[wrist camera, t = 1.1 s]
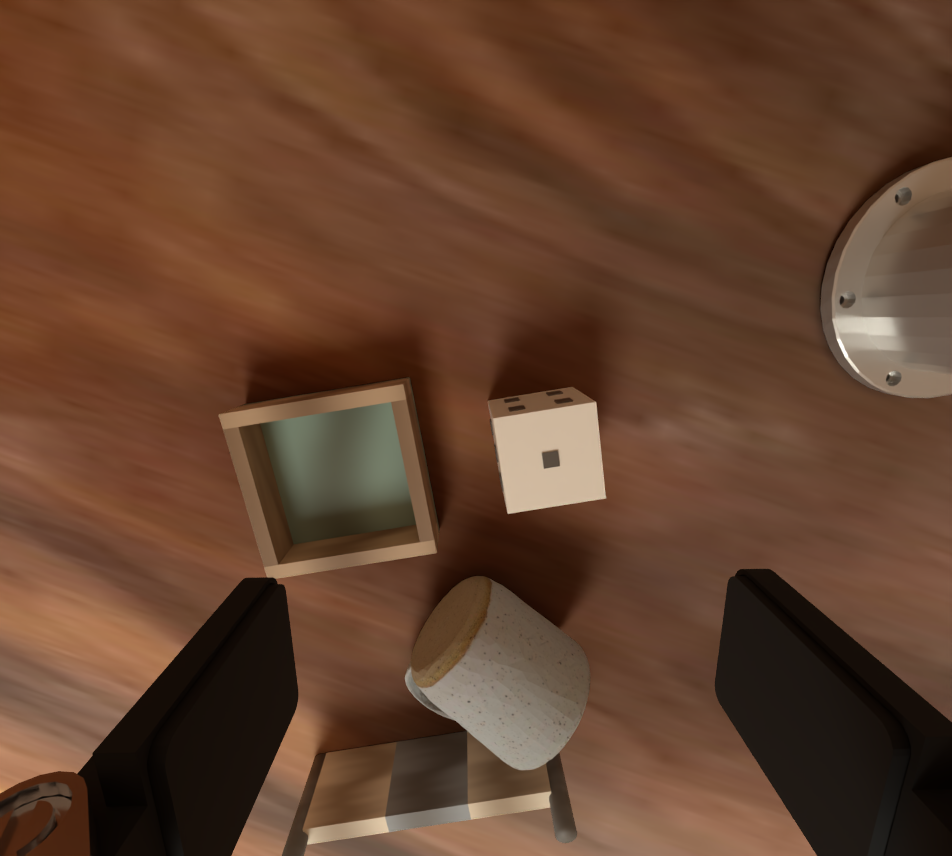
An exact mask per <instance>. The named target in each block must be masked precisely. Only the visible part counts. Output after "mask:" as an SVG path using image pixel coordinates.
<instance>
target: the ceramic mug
mask: <svg viewBox="0 0 952 856" xmlns="http://www.w3.org/2000/svg"><path fill="white" fill-rule="evenodd" d="M405 682H406V685H407V687H408V689H409V691H410V692H411V693H412V695H413V696H414V697H415V698H416V699H417V700H418V701H419V702H420V703H422V704H423V705H424V706H425V707H427V708H428V709H430V710H432V711H433V712H435V713H437V714H439V715H441V716H443V717H446V718H449V719H452V720H455V721H456V722H458V723H459V724H460V725H461V726H462V727H464V728H465V729H466V730H467V731H468V732H469V733H470V734H471V735H472V736H474V737H475V738H476V739H477V740H478V741H480V742H481V743H482V744H483V745H484V746H486V747H487V748H488V749H489V750H490V751H492V752H493V753H494V754H495V755H496V756H497V757H499V758H500V759H501V760H502V761H503V762H505V763H506V764H508V765H509V766H511V767H513V768H515V769H518V770H532V769H535V768H538V767H540V766H542V765H544V764H546V763H547V762H548V761H549V760H551V759H552V758H553V757H555V756H556V755H557V754H558V753H559V752H560V750H561V749H562V748H563V747H564V746H565V745H566V743H567V742H568V740H569V739H570V737H571V736H572V734H573V733H574V731H575V730H576V728H577V726H578V724H579V722H580V720H581V718H582V715H583V713H584V709H585V706H586V702H587V698H588V694H589V689H590V669H589V663H588V659H587V657H586V654H585V653H584V651H583V649H582V647H581V646H580V645H579V644H578V643H577V642H576V641H574V640H573V639H572V638H570V637H569V636H568V635H566V634H565V633H564V632H562V631H561V630H560V629H559V628H557V627H556V626H555V625H554V624H552V623H551V622H550V621H548V620H547V619H546V618H544V617H543V616H542V615H540V614H539V613H538V612H536V611H535V610H534V609H532V608H531V607H530V606H528V605H527V604H526V603H524V602H523V601H522V600H521V599H520V598H518V597H517V596H516V595H515V594H514V593H512V592H511V591H510V590H508V589H507V588H505V587H504V586H503V585H501V584H499V583H497V582H495V581H493V580H492V579H490V578H487V577H485V576H473V577H470V578H467V579H465V580H463V581H461V582H460V583H459V584H457V585H456V586H455V587H454V588H452V589H451V590H450V591H449V593H448V594H447V595H446V596H445V597H444V598H443V599H442V600H441V601H440V603H439V604H438V605H437V606H436V608H435V609H434V610H433V612H432V613H431V615H430V616H429V618H428V620H427V621H426V623H425V625H424V626H423V628H422V630H421V632H420V634H419V636H418V638H417V641H416V643H415V646H414V648H413V652H412V656H411V661H410V663H409V666H408V668H407V671H406V674H405Z"/></svg>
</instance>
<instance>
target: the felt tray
mask: <svg viewBox="0 0 952 856" xmlns="http://www.w3.org/2000/svg"><path fill="white" fill-rule="evenodd" d="M219 418H220V421H221V424H222V428H223V431H224V434H225V438H226V441H227V445H228V448H229V451H230V455H231V458H232V461H233V465H234V468H235V471H236V475H237V478H238V481H239V485H240V488H241V491H242V495H243V498H244V501H245V505H246V508H247V512H248V515H249V518H250V522H251V525H252V528H253V532H254V535H255V538H256V542H257V545H258V548H259V552H260V555H261V558H262V562H263V565H264V568H265V572H266V575H267V577H273V578H275V579H277V578H283V577H290V576H296V575H302V574H308V573H315V572H321V571H327V570H333V569H340V568H346V567H352V566H358V565H365V564H371V563H377V562H383V561H390V560H396V559H402V558H409V557H415V556H421V555H427V554H434V553H437V547H438V538H439V524H438V519H437V514H436V509H435V504H434V498H433V493H432V488H431V483H430V478H429V473H428V468H427V462H426V457H425V452H424V447H423V442H422V437H421V432H420V427H419V421H418V416H417V411H416V406H415V401H414V396H413V391H412V385H411V380H410V377H406V378H400V379H394V380H388V381H382V382H376V383H370V384H363V385H357V386H351V387H345V388H339V389H333V390H327V391H321V392H315V393H309V394H302V395H296V396H290V397H284V398H278V399H272V400H266V401H260V402H254V403H248V404H244V405H241V406H239V407H236V408H234V409H231V410H229V411H226V412H224V413H221V414H219Z"/></svg>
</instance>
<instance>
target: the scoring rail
mask: <svg viewBox="0 0 952 856" xmlns="http://www.w3.org/2000/svg"><path fill="white" fill-rule="evenodd" d="M543 808H551V814H552V819H553V825H554V831H555V836H556V839H557V840H558V841H559V842H562V843H569V842H572V841H573V840H574V839H575V838H576V836H577V831H576V827H575V822H574V818H573V813H572V808H571V804H570V799H569V795H568V790H567V786H566V781H565V777H564V772H563V768H562V763H561V759H560V754H559V753H558V754H557V755H556V756H555V757H553V758H552V759H551V760H549V761H548V762H547V763H546V764H544V765H542V766H540V767H538V768H535V769H532V770H518V769H515V768H513V767H511V766H509V765H508V764H506V763H505V762H503V761H502V760H501V759H500V758H499V757H497V756H496V755H495V754H494V753H493V752H492V751H490V750H489V749H488V748H487V747H486V746H484V745H483V744H482V743H481V742H480V741H478V740H477V739H476V738H475V737H474V736H472V735H471V734H470V733H469V732H468V731H464V732H457V733H451V734H444V735H438V736H431V737H425V738H419V739H412V740H406V741H399V742H393V743H386V744H380V745H373V746H367V747H361V748H354V749H348V750H341V751H335V752H328V753H326V754H318V755H317V756H316V757H315V759H314V762H313V765H312V768H311V771H310V774H309V777H308V779H307V782H306V785H305V788H304V791H303V794H302V797H301V800H300V803H299V806H298V809H297V812H296V815H295V818H294V821H293V824H292V827H291V830H290V833H289V836H288V839H287V842H286V845H285V848H284V851H283V854H282V856H304V853H305V849H306V846H307V845H308V844H314V843H321V842H327V841H334V840H341V839H347V838H354V837H360V836H367V835H373V834H380V833H386V832H393V831H399V830H406V829H412V828H419V827H426V826H432V825H439V824H445V823H452V822H458V821H465V820H471V819H478V818H484V817H491V816H497V815H504V814H510V813H517V812H524V811H530V810H537V809H543Z"/></svg>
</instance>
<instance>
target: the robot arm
mask: <svg viewBox="0 0 952 856" xmlns="http://www.w3.org/2000/svg"><path fill="white" fill-rule="evenodd" d="M820 309H821V317H822V325H823V330H824V333H825V336H826V339H827V342H828V345H829V348H830V350H831V351H832V353H833V354H834V356H835V358H836V359H837V361H838V363H839V364H840V365H841V366H842V367H843V368H844V369H845V370H846V371H847V372H848V373H849V374H850V375H851V376H852V377H853V378H854V379H856V380H857V381H859V382H860V383H862V384H864V385H865V386H867V387H868V388H871V389H874V390H877V391H880V392H883V393H886V394H891V395H897V396H902V397H907V398H932V397H939V396H945V395H950V394H952V157H950V158H946V159H943V160H939V161H935V162H932V163H929V164H927V165H924V166H921V167H919V168H916V169H913V170H911V171H908V172H906V173H904V174H903V175H901V176H899V177H898V178H896V179H894V180H892V181H891V182H889V183H887V184H886V185H885V186H883V187H882V188H881V189H880V190H879V191H877V192H876V193H875V194H874V195H873V196H871V197H870V198H869V199H868V200H867V201H866V202H865V203H864V204H863V205H862V206H861V208H860V209H859V210H858V211H857V212H856V213H855V215H854V216H853V217H852V218H851V219H850V221H849V222H848V224H847V225H846V227H845V229H844V230H843V232H842V233H841V235H840V237H839V238H838V240H837V241H836V244H835V246H834V249H833V251H832V253H831V256H830V258H829V260H828V263H827V266H826V270H825V275H824V279H823V283H822V290H821V307H820ZM715 691H716V695H717V698H718V701H719V703H720V705H721V706H722V708H723V709H724V711H725V712H726V714H727V716H728V717H729V719H730V720H731V722H732V723H733V725H734V726H735V728H736V730H737V731H738V733H739V734H740V736H741V737H742V739H743V741H744V742H745V744H746V745H747V747H748V748H749V750H750V751H751V753H752V755H753V756H754V758H755V759H756V761H757V762H758V764H759V765H760V767H761V769H762V770H763V772H764V773H765V775H766V776H767V778H768V780H769V781H770V783H771V784H772V786H773V787H774V789H775V790H776V792H777V794H778V795H779V797H780V798H781V800H782V801H783V803H784V805H785V806H786V808H787V809H788V811H789V812H790V814H791V815H792V817H793V819H794V820H795V822H796V823H797V825H798V826H799V828H800V829H801V831H802V833H803V834H804V836H805V837H806V839H807V840H808V842H809V844H810V845H811V847H812V848H813V850H814V851H815V853H816V854H817V856H952V722H951V721H949V720H948V719H947V718H946V717H945V716H944V715H942V714H941V713H940V712H939V711H938V710H936V709H935V708H934V707H933V706H932V705H931V704H929V703H928V702H927V701H926V700H925V699H923V698H922V697H921V696H920V695H919V694H918V693H916V692H915V691H914V690H913V689H912V688H910V687H909V686H908V685H907V684H906V683H905V682H903V681H902V680H901V679H900V678H899V677H897V676H896V675H895V674H894V673H893V672H892V671H890V670H889V669H888V668H887V667H886V666H885V665H883V664H882V663H881V662H880V661H879V660H877V659H876V658H875V657H874V656H873V655H872V654H870V653H869V652H868V651H867V650H866V649H864V648H863V647H862V646H861V645H860V644H859V643H857V642H856V641H855V640H854V639H853V638H851V637H850V636H849V635H848V634H847V633H846V632H844V631H843V630H842V629H841V628H840V627H838V626H837V625H836V624H835V623H834V622H833V621H831V620H830V619H829V618H828V617H827V616H826V615H824V614H823V613H822V612H821V611H820V610H818V609H817V608H816V607H815V606H814V605H813V604H811V603H810V602H809V601H808V600H807V599H805V598H804V597H803V596H802V595H801V594H800V593H798V592H797V591H796V590H795V589H794V588H792V587H791V586H790V585H789V584H788V583H787V582H785V581H784V580H783V579H782V578H781V577H779V576H778V575H777V574H776V573H775V572H773V571H772V570H770V569H740V570H739V571H737V573H736V575H735V576H734V577H731V578H730V579H729V581H728V586H727V593H726V601H725V609H724V616H723V624H722V632H721V639H720V647H719V655H718V662H717V670H716V678H715ZM297 702H298V685H297V677H296V669H295V661H294V653H293V645H292V637H291V629H290V621H289V613H288V605H287V597H286V590H285V587H284V585H282V584H277V581H276V579H275V578H273V577H266V578H244V579H243V580H242V581H241V582H240V583H239V584H238V586H237V587H236V588H235V589H234V590H233V591H232V592H231V594H230V595H229V596H228V597H227V598H226V599H225V601H224V602H223V603H222V604H221V605H220V606H219V607H218V609H217V610H216V611H215V612H214V613H213V614H212V616H211V617H210V618H209V619H208V620H207V621H206V623H205V624H204V625H203V626H202V627H201V628H200V629H199V631H198V632H197V633H196V634H195V635H194V636H193V638H192V639H191V640H190V641H189V642H188V643H187V645H186V646H185V647H184V648H183V649H182V650H181V651H180V653H179V654H178V655H177V656H176V657H175V658H174V660H173V661H172V662H171V663H170V664H169V665H168V667H167V668H166V669H165V670H164V671H163V672H162V673H161V675H160V676H159V677H158V678H157V679H156V680H155V682H154V683H153V684H152V685H151V686H150V687H149V688H148V690H147V691H146V692H145V693H144V694H143V695H142V697H141V698H140V699H139V700H138V701H137V702H136V704H135V705H134V706H133V707H132V708H131V709H130V710H129V712H128V713H127V714H126V715H125V716H124V717H123V719H122V720H121V721H120V722H119V723H118V724H117V726H116V727H115V728H114V729H113V730H112V731H111V732H110V734H109V735H108V736H107V737H106V738H105V739H104V741H103V742H102V743H101V744H100V745H99V746H98V748H97V749H96V750H95V751H94V752H93V753H92V754H93V756H92V757H91V758H90V760H89V761H88V762H87V763H86V764H85V765H84V767H83V768H82V769H81V770H80V771H79V772H78V774H76V773H74V772H61V771H58V772H53V773H48V774H43V775H39V776H37V777H34V778H31V779H29V780H26V781H24V782H21V783H19V784H17V785H15V786H13V787H11V788H9V789H8V790H6V791H4V792H2V793H0V856H231V855H232V853H233V850H234V848H235V846H236V844H237V841H238V839H239V837H240V835H241V832H242V830H243V828H244V826H245V823H246V821H247V819H248V817H249V814H250V812H251V810H252V808H253V805H254V803H255V801H256V799H257V796H258V794H259V792H260V790H261V787H262V785H263V783H264V781H265V778H266V776H267V774H268V772H269V769H270V767H271V765H272V763H273V760H274V758H275V756H276V753H277V751H278V749H279V747H280V744H281V742H282V740H283V738H284V735H285V733H286V731H287V729H288V726H289V724H290V722H291V720H292V717H293V715H294V713H295V710H296V707H297Z"/></svg>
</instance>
